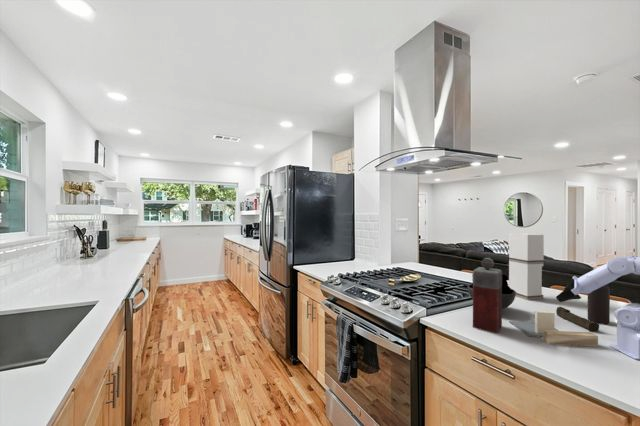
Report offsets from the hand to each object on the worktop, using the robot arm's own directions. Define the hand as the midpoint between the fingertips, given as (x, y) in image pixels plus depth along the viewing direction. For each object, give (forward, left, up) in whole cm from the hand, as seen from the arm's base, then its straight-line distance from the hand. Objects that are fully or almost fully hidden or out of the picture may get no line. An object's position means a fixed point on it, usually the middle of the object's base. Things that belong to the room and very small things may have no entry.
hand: (561, 296), depth 112 cm
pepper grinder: (+1, +27, -14) cm, 30 cm away
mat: (0, +9, -13) cm, 16 cm away
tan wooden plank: (-11, +5, -14) cm, 18 cm away
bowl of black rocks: (+23, +16, -14) cm, 31 cm away
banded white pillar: (+49, -14, -14) cm, 53 cm away
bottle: (+13, -23, -14) cm, 30 cm away
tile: (-4, +9, -13) cm, 16 cm away
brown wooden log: (+10, -11, -14) cm, 21 cm away
